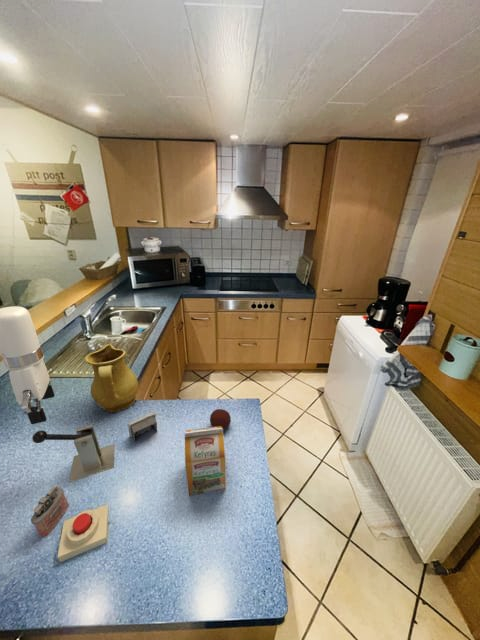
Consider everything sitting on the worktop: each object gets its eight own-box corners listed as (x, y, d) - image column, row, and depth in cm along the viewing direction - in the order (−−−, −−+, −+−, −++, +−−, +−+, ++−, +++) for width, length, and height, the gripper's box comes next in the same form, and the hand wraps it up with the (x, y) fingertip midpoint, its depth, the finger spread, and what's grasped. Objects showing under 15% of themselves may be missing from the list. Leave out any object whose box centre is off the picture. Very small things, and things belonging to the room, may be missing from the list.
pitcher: (149, 389, 111) (137, 341, 100) (125, 423, 95) (107, 371, 84) (114, 385, 114) (99, 338, 103) (85, 417, 98) (63, 366, 86)
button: (73, 536, 59) (71, 532, 58) (75, 520, 62) (73, 516, 61) (90, 530, 60) (88, 526, 60) (92, 514, 63) (90, 510, 63)
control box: (59, 562, 58) (54, 553, 56) (66, 525, 64) (62, 516, 63) (107, 542, 61) (104, 533, 60) (109, 508, 68) (106, 500, 66)
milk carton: (221, 457, 82) (221, 413, 74) (225, 489, 73) (225, 444, 65) (189, 461, 81) (184, 418, 73) (188, 496, 71) (183, 450, 63)
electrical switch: (155, 425, 94) (153, 408, 89) (160, 435, 90) (158, 418, 86) (129, 437, 89) (125, 420, 84) (134, 449, 85) (130, 431, 81)
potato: (212, 418, 97) (211, 404, 94) (231, 419, 97) (231, 405, 94) (208, 433, 91) (207, 419, 88) (229, 435, 90) (229, 421, 87)
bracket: (69, 484, 74) (56, 452, 68) (74, 458, 81) (62, 427, 75) (114, 469, 78) (105, 438, 72) (115, 446, 85) (107, 416, 80)
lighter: (48, 541, 61) (35, 517, 57) (36, 538, 62) (22, 514, 57) (74, 506, 68) (64, 482, 64) (63, 503, 69) (52, 480, 65)
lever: (29, 446, 67) (32, 436, 66) (33, 436, 70) (35, 427, 69) (88, 445, 74) (91, 437, 73) (89, 437, 77) (92, 429, 76)
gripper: (16, 342, 67) (36, 392, 74) (-11, 380, 53) (16, 438, 60) (50, 338, 70) (65, 386, 77) (32, 372, 56) (53, 428, 63)
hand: (44, 409), depth 69 cm, fingers open, 9 cm apart
